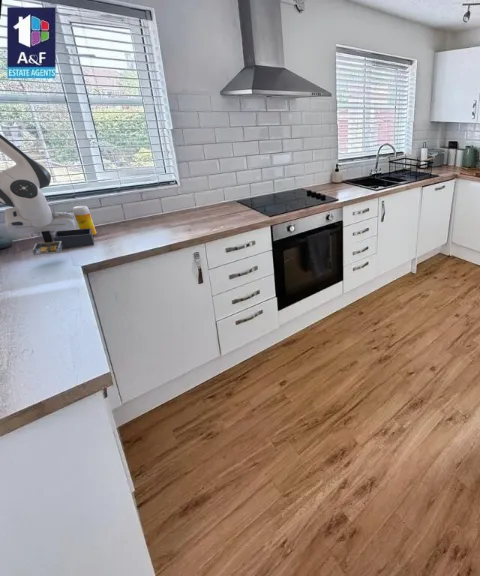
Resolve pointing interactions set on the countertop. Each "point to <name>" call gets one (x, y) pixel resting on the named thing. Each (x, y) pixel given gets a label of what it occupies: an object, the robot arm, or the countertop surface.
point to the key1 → (43, 249)
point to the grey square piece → (47, 244)
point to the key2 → (53, 248)
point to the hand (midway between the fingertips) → (46, 234)
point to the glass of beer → (84, 218)
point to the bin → (74, 238)
